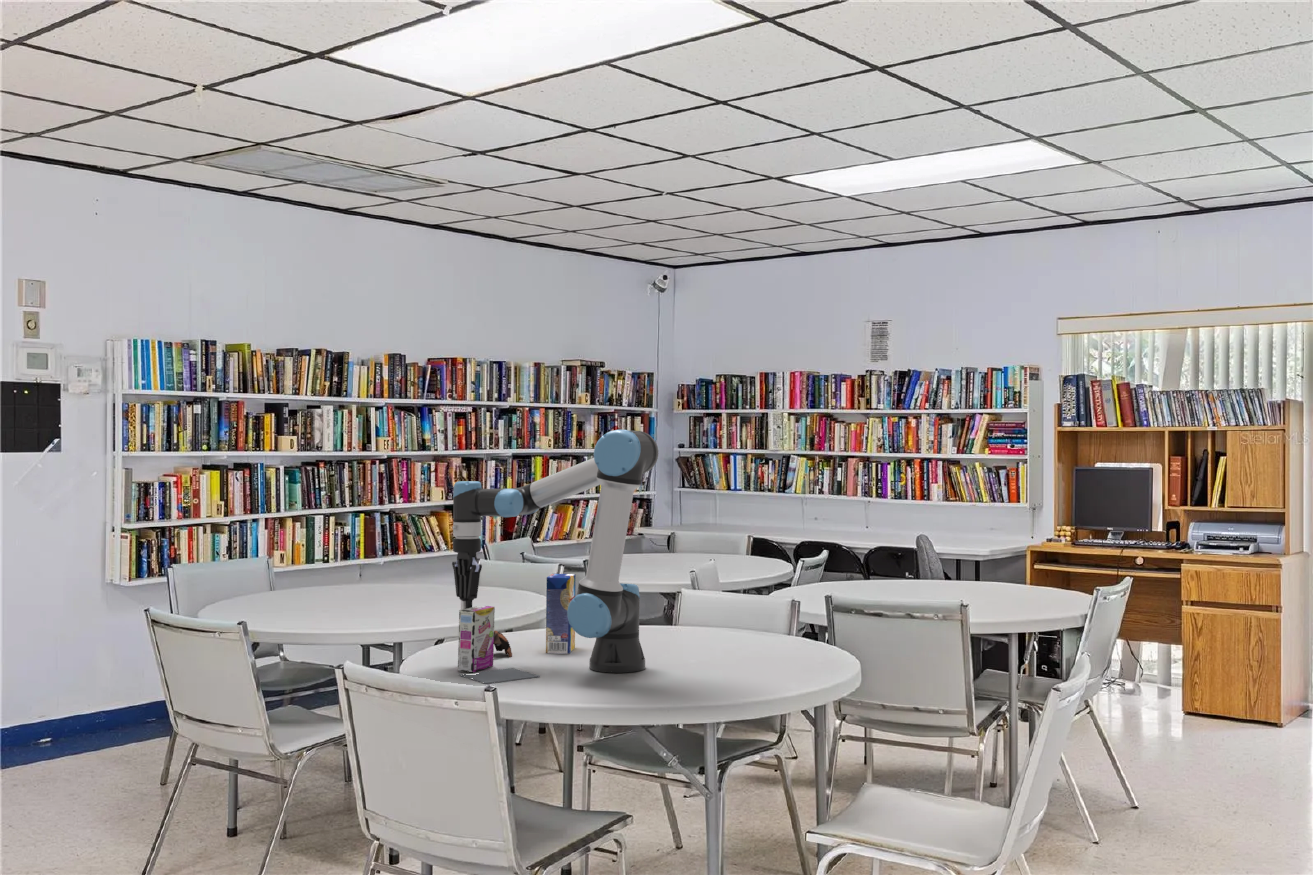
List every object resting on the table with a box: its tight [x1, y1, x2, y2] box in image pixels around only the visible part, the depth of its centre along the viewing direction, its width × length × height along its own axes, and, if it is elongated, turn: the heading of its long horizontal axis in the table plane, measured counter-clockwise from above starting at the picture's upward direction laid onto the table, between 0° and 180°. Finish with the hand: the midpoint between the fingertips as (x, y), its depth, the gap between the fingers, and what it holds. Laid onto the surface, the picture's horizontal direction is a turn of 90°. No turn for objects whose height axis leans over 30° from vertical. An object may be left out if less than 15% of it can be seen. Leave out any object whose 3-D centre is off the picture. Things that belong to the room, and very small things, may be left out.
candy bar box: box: [457, 605, 496, 673], centre depth 305 cm, size 11×5×16 cm, turn 159°
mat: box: [458, 667, 541, 685], centre depth 295 cm, size 14×16×1 cm
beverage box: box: [545, 573, 576, 655], centre depth 335 cm, size 7×11×22 cm, turn 175°
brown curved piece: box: [494, 630, 513, 658], centre depth 326 cm, size 12×10×8 cm
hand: (466, 624), depth 310 cm, fingers closed
